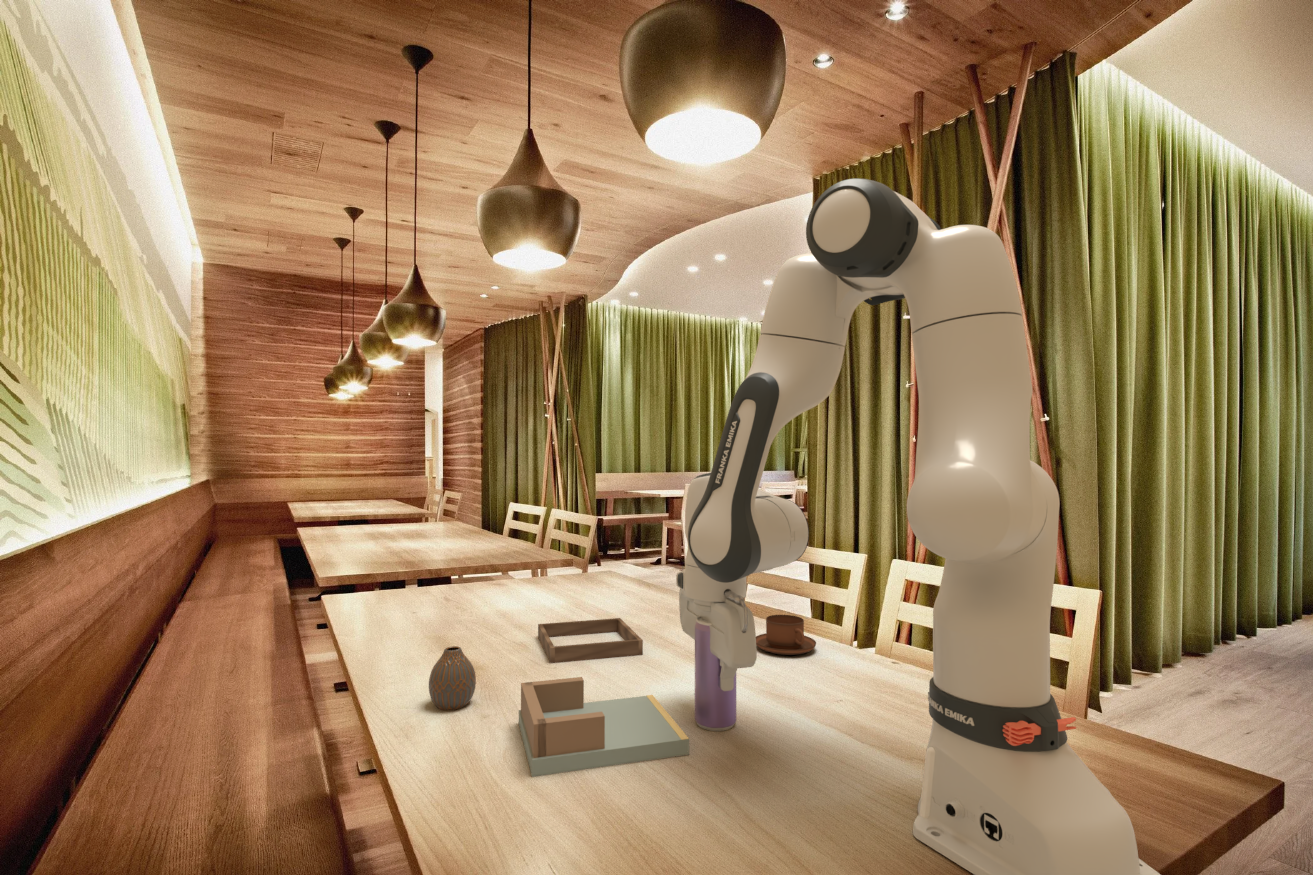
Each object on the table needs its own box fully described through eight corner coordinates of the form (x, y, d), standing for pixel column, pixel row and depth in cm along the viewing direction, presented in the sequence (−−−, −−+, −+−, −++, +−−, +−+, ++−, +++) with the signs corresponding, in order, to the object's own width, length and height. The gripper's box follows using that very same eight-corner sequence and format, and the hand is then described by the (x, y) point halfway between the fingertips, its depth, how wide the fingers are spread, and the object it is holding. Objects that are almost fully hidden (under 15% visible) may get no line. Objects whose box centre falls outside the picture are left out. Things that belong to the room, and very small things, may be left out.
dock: (688, 754, 85) (689, 707, 85) (531, 776, 79) (532, 726, 79) (652, 708, 100) (652, 668, 100) (518, 724, 94) (518, 681, 94)
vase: (424, 716, 97) (425, 656, 97) (432, 698, 104) (433, 642, 104) (472, 713, 98) (473, 654, 98) (478, 696, 105) (478, 640, 105)
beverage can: (734, 734, 91) (734, 624, 91) (691, 730, 92) (692, 622, 92) (737, 717, 97) (737, 614, 97) (697, 713, 98) (697, 612, 98)
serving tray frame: (642, 655, 126) (642, 640, 126) (550, 664, 120) (550, 647, 120) (619, 631, 142) (620, 617, 143) (538, 638, 137) (538, 623, 137)
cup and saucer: (827, 650, 130) (827, 619, 130) (793, 664, 122) (793, 630, 122) (777, 638, 138) (777, 608, 139) (741, 650, 130) (741, 618, 130)
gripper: (768, 597, 86) (768, 704, 86) (709, 570, 105) (709, 657, 105) (723, 600, 84) (723, 709, 84) (672, 572, 103) (672, 661, 103)
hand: (715, 680), depth 95 cm, fingers open, 6 cm apart
